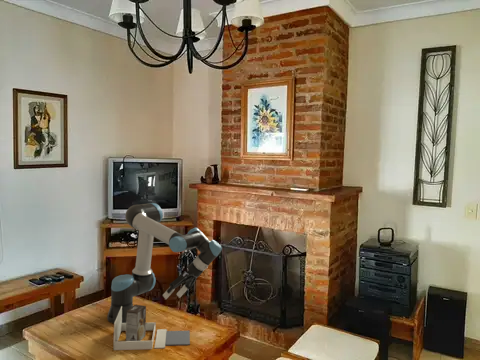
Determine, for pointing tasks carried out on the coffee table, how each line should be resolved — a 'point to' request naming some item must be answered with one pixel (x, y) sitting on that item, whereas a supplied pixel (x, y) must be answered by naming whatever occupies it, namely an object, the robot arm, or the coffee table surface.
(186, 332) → the mat
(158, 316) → the coffee table surface
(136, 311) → the coffee box
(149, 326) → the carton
